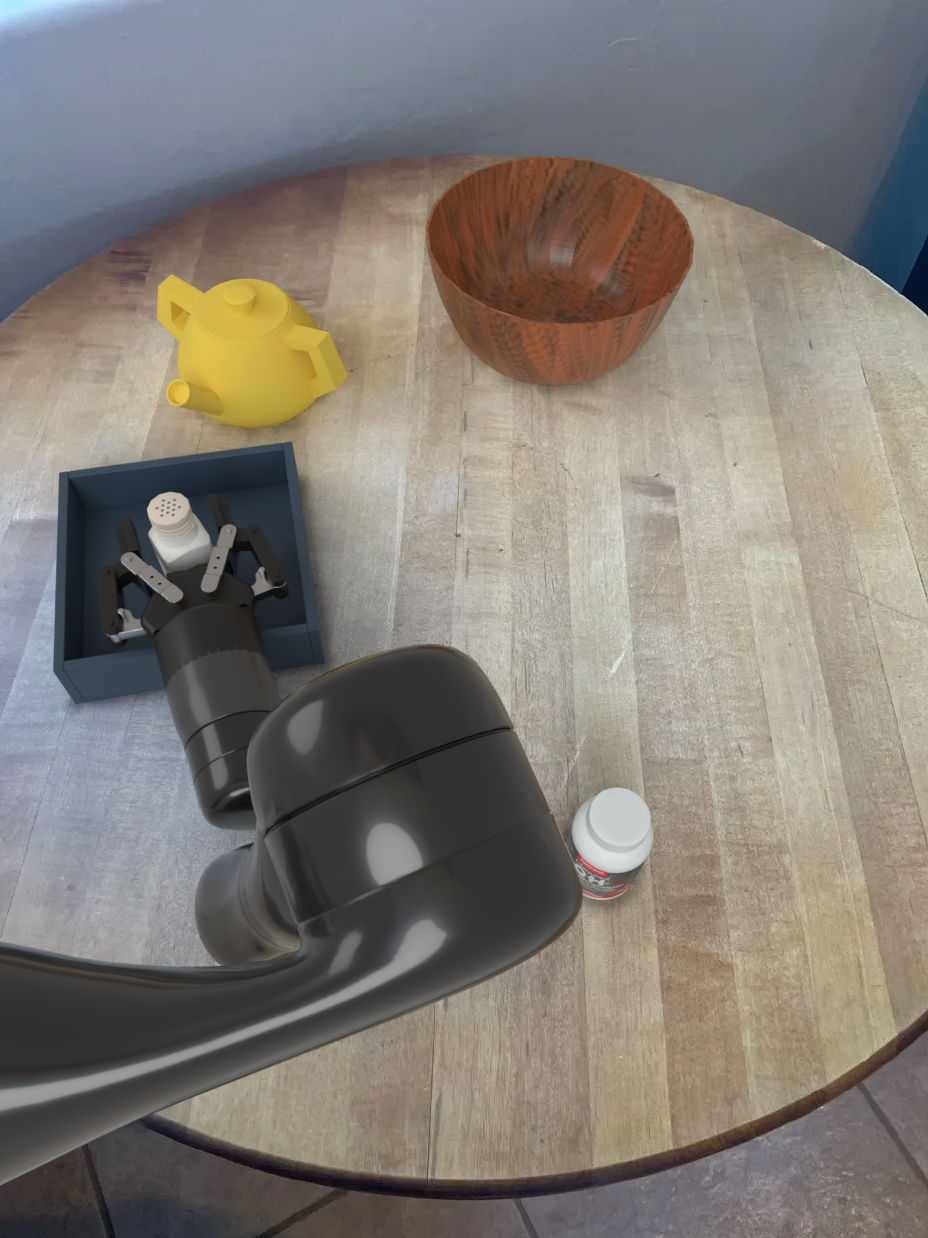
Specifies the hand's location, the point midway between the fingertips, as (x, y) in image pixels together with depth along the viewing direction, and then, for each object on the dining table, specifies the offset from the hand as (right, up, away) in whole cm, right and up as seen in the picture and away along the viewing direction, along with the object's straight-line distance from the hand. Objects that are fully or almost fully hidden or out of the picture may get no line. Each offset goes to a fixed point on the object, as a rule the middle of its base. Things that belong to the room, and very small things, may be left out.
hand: (170, 512), depth 77 cm
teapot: (+2, +13, +16) cm, 21 cm away
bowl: (+32, +21, +22) cm, 44 cm away
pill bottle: (+33, -26, -8) cm, 43 cm away
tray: (+1, -5, +5) cm, 7 cm away
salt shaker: (+1, -5, +4) cm, 7 cm away
